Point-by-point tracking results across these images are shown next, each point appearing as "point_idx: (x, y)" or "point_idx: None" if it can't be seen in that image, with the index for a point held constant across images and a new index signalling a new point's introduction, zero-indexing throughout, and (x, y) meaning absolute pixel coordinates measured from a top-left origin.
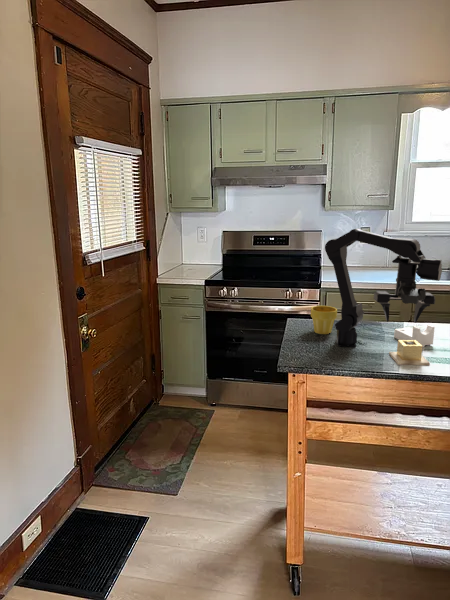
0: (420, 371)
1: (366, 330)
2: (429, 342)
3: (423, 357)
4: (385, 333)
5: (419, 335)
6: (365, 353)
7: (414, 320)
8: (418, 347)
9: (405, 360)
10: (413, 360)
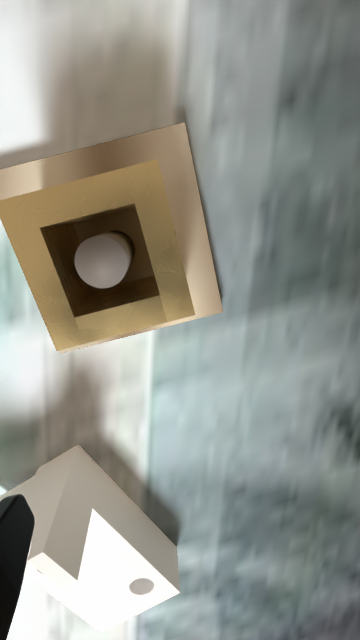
0: (44, 18)
1: (287, 584)
2: None
3: None
4: (210, 576)
5: (45, 510)
6: (345, 280)
7: (22, 534)
8: (32, 194)
9: None
10: None
